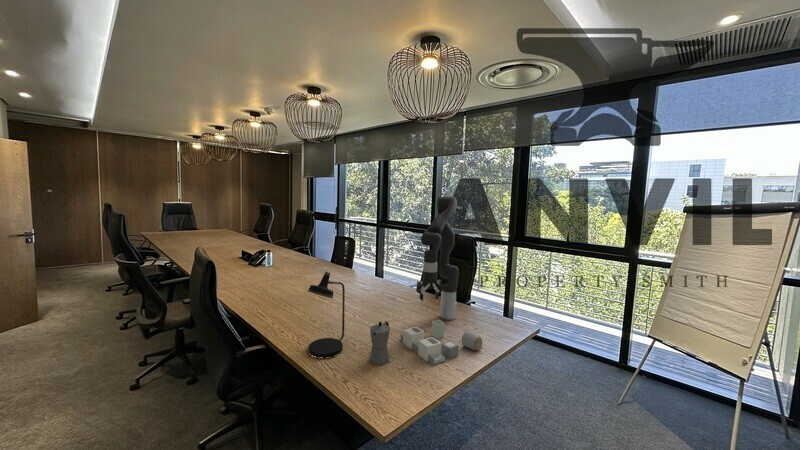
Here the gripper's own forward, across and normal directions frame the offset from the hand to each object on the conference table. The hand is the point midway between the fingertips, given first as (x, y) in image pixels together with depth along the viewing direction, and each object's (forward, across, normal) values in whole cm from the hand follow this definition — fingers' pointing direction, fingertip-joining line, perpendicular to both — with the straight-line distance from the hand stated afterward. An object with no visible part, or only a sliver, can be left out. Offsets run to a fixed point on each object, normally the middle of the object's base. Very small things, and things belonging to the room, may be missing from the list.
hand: (429, 299), depth 168 cm
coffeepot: (+20, +31, +17) cm, 41 cm away
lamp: (+20, +53, +1) cm, 57 cm away
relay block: (+20, -2, +22) cm, 30 cm away
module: (+20, -5, +3) cm, 21 cm away
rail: (+20, +10, +14) cm, 26 cm away
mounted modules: (+20, +10, +14) cm, 26 cm away
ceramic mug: (+20, -17, +18) cm, 32 cm away
